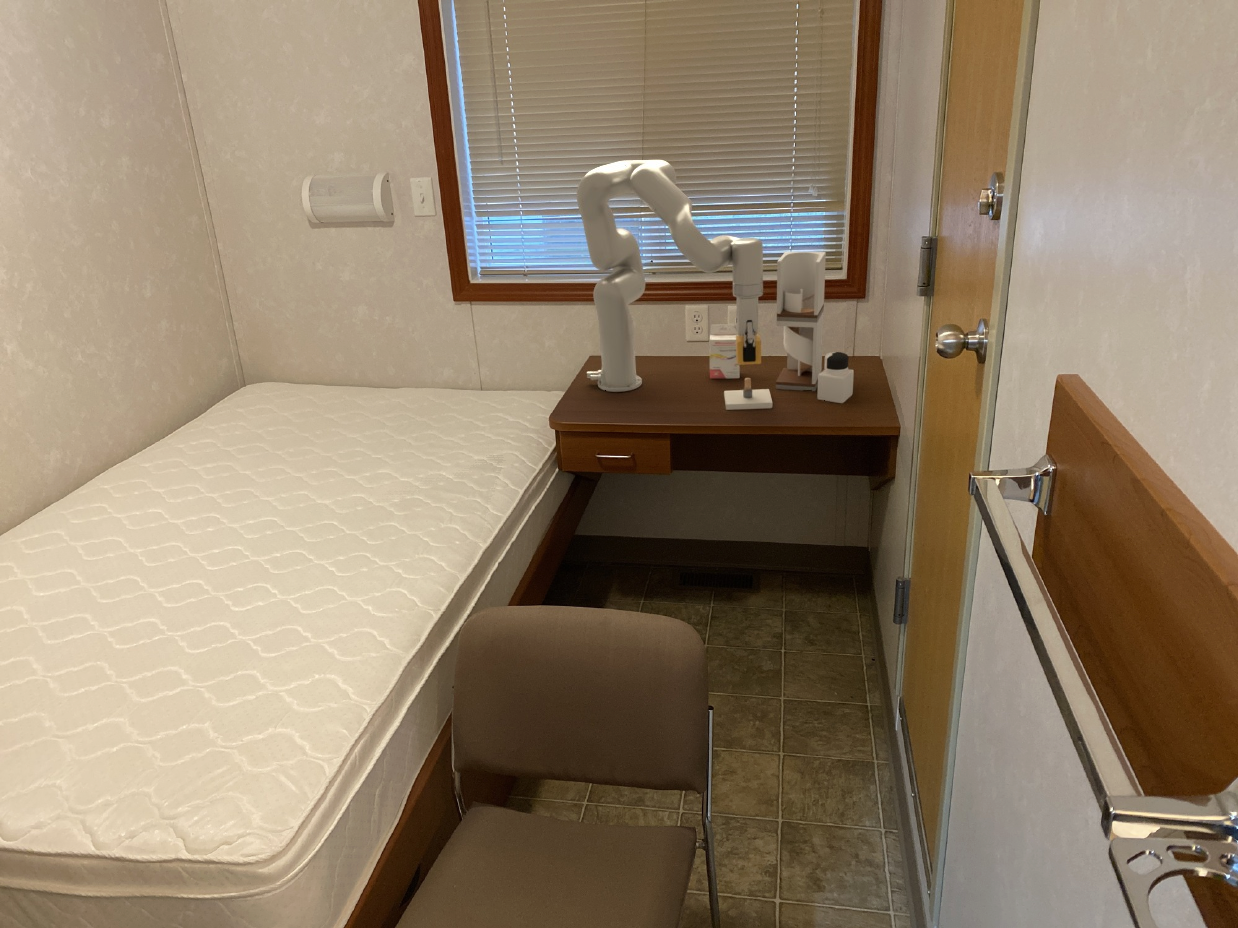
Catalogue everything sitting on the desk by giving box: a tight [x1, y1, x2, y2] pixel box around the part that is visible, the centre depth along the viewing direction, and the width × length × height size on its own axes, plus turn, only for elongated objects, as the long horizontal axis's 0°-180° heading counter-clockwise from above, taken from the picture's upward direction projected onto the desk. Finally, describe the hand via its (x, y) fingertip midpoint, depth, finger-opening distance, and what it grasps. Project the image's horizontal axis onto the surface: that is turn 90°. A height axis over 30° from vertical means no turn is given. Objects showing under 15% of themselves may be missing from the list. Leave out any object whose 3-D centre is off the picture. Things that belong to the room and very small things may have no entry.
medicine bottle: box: [816, 351, 855, 404], centre depth 239 cm, size 7×7×12 cm
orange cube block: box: [736, 333, 762, 366], centre depth 236 cm, size 6×6×6 cm
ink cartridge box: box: [709, 323, 741, 379], centre depth 258 cm, size 9×5×15 cm, turn 84°
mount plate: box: [723, 377, 773, 411], centre depth 241 cm, size 12×10×6 cm
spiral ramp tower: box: [775, 251, 827, 392], centre depth 245 cm, size 11×11×35 cm
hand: (748, 356), depth 236 cm, fingers closed on orange cube block, 5 cm apart
